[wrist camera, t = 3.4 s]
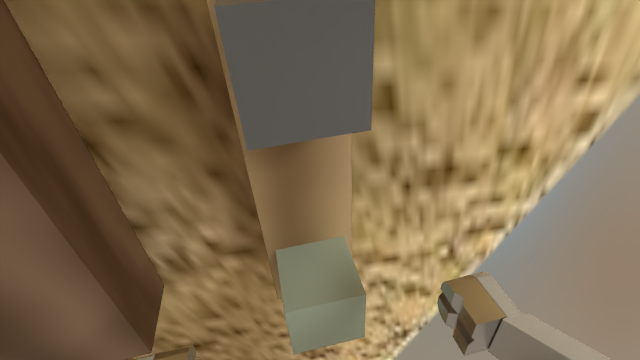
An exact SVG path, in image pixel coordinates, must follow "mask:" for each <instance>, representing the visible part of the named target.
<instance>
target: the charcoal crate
mask: <svg viewBox="0 0 640 360" xmlns="http://www.w3.org/2000/svg"><path fill="white" fill-rule="evenodd" d="M214 8H215V12H216V17H217V21H218V26H219V30H220V34H221V39H222V43H223V47H224V52H225V56H226V60H227V65H228V69H229V73H230V78H231V82H232V87H233V91H234V95H235V100H236V104H237V108H238V113H239V117H240V121H241V126H242V130H243V134H244V139H245V143H246V148H247V151H248V150H254V149H260V148H266V147H272V146H278V145H284V144H290V143H296V142H302V141H308V140H314V139H320V138H326V137H332V136H338V135H344V134H350V133H357V132H363V131H369V130H371V113H372V81H373V49H374V16H375V0H216V1H215V5H214Z"/></svg>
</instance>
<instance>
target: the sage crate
mask: <svg viewBox="0 0 640 360" xmlns="http://www.w3.org/2000/svg"><path fill="white" fill-rule="evenodd" d="M276 257H277V264H278V271H279V278H280V285H281V292H282V299H283V306H284V313H285V317H286V322H287V326H288V331H289V335H290V339H291V344H292V348H293V352H294V354H298V353H302V352H306V351H310V350H314V349H318V348H322V347H326V346H330V345H334V344H338V343H342V342H346V341H350V340H354V339H358V338H362V337H365V307H366V293H365V291H364V288H363V285H362V283H361V280H360V277H359V275H358V272H357V270H356V267H355V264H354V262H353V259H352V256H351V254H350V251H349V248H348V246H347V243H346V241H345V238H344V236H342V237H337V238H332V239H327V240H323V241H318V242H313V243H308V244H303V245H298V246H294V247H289V248H284V249H279V250H276Z"/></svg>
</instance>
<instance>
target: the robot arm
mask: <svg viewBox="0 0 640 360" xmlns="http://www.w3.org/2000/svg"><path fill="white" fill-rule="evenodd" d="M441 290H442V291H443V293H442V294H441V295H440V296H439V297H438V302H437V303H438V309H439V312H440V315H441V317H442V319H443V320H444V322H445V324H446V325H448V326H449V327H451V328H452V329H453V338H454V339H455V341H456V343H457V344H458V346H459V348H460V349H461V351H462V353H463V355H464V356H465V355H469V354H473V353H477V352H481V351H485V350H488V352H490V353H491V354H492V355H494V356H495V357H496V358H498V359H499V360H610V359H609V358H608V357H606V356H604V355H602V354H600V353H599V352H597V351H595V350H593V349H591V348H589V347H588V346H586V345H584V344H582V343H580V342H579V341H576V340H575V339H573V338H571V337H569V336H568V335H566V334H564V333H562V332H560V331H558V330H557V329H555V328H553V327H551V326H549V325H547V324H546V323H544V322H542V321H540V320H538V319H537V318H535V317H533V316H531V315H529V314H527V313H521V312H520V311H519V310H518V308H517V307H516V306H515V305H514V304H513V302H512V301H511V300H510V299H509V297H508V296H507V295H506V294H505V292H504V291H503V290H502V289H501V288H500V286H499V285H498V284H497V283H496V282H495V280H494V279H493V278H492V277H491V275H490V274H488V273H487V272H480V273H476V274H472V275H467V276H464V277H460V278H456V279H453V280H449V281H445V282H443V283H442V285H441ZM137 360H201V359H200V358H199V357H196V350H195V348H194V347H193V345H190V346H186V347H182V348H178V349H174V350H170V351H166V352H162V353H156V354H153V355H149V356H145V357H141V358H137Z"/></svg>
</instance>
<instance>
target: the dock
mask: <svg viewBox="0 0 640 360" xmlns="http://www.w3.org/2000/svg"><path fill="white" fill-rule="evenodd" d="M163 289H164V284H163V282H162V280H161V278H160V277H159V275H158V273H157V271H156V269H155V268H154V266H153V264H152V262H151V261H150V259H149V257H148V255H147V254H146V252H145V250H144V248H143V246H142V245H141V243H140V241H139V239H138V238H137V236H136V234H135V232H134V231H133V229H132V227H131V225H130V224H129V222H128V220H127V218H126V216H125V215H124V213H123V211H122V209H121V208H120V206H119V204H118V202H117V201H116V199H115V197H114V195H113V193H112V192H111V190H110V188H109V186H108V185H107V183H106V181H105V179H104V178H103V176H102V174H101V172H100V170H99V169H98V167H97V165H96V163H95V162H94V160H93V158H92V156H91V155H90V153H89V151H88V149H87V147H86V146H85V144H84V142H83V140H82V139H81V137H80V135H79V133H78V132H77V130H76V128H75V126H74V124H73V123H72V121H71V119H70V117H69V116H68V114H67V112H66V110H65V109H64V107H63V105H62V103H61V101H60V100H59V98H58V96H57V94H56V93H55V91H54V89H53V87H52V86H51V84H50V82H49V80H48V79H47V77H46V75H45V73H44V71H43V70H42V68H41V66H40V64H39V63H38V61H37V59H36V57H35V56H34V54H33V52H32V50H31V48H30V47H29V45H28V43H27V41H26V40H25V38H24V36H23V34H22V33H21V31H20V29H19V27H18V25H17V24H16V22H15V20H14V18H13V17H12V15H11V13H10V11H9V10H8V8H7V6H6V4H5V2H4V1H3V0H0V360H123V359H128V358H132V357H136V356H140V355H144V354H149V353H151V352H152V346H153V341H154V336H155V331H156V325H157V320H158V315H159V310H160V304H161V299H162V294H163Z"/></svg>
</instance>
